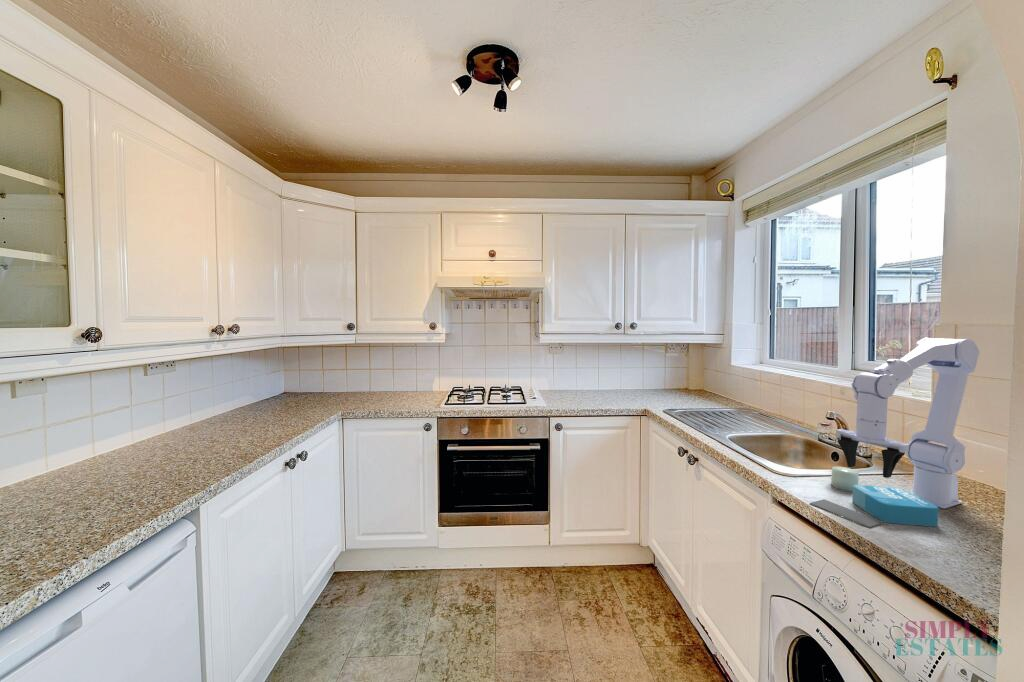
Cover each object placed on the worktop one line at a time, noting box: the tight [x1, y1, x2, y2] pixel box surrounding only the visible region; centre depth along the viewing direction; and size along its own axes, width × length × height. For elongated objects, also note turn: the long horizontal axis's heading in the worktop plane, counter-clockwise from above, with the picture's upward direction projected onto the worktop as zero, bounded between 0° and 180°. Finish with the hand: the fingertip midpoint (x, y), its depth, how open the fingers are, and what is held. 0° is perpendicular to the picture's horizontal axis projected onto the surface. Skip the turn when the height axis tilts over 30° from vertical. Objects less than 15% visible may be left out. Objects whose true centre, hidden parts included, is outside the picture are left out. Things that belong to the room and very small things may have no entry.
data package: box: [851, 484, 940, 528], centre depth 98 cm, size 12×4×12 cm
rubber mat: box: [809, 498, 885, 529], centre depth 98 cm, size 6×13×1 cm, turn 22°
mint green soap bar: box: [830, 465, 860, 492], centre depth 114 cm, size 6×6×5 cm
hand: (868, 471), depth 101 cm, fingers open, 7 cm apart
